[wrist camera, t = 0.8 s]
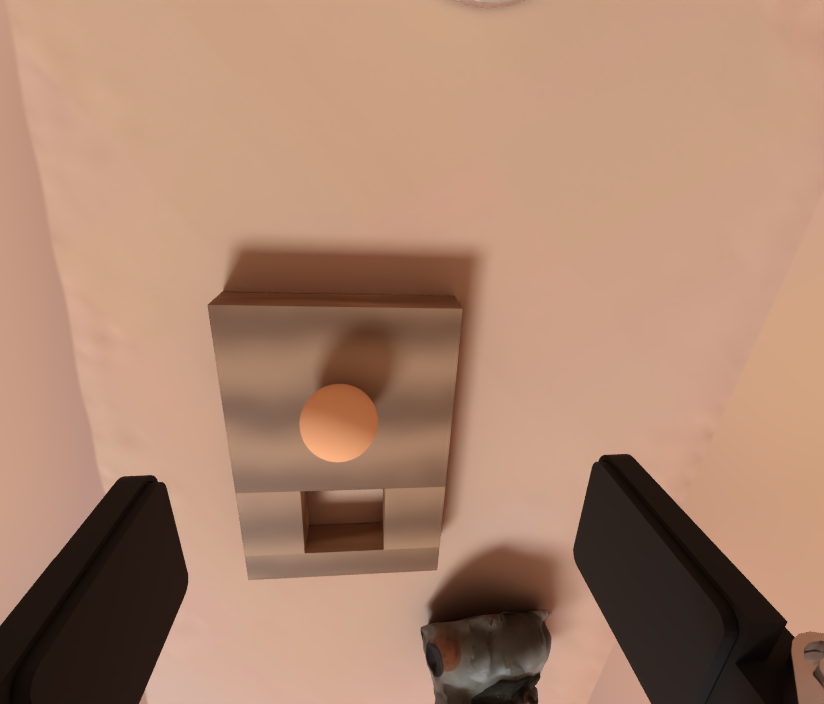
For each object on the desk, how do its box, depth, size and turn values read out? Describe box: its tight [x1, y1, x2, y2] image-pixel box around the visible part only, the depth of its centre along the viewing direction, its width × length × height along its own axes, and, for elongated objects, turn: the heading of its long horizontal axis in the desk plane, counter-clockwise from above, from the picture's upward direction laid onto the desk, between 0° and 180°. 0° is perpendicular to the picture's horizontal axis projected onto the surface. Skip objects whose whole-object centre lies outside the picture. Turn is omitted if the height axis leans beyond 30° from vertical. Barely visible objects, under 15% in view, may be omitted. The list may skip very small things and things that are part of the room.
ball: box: [299, 384, 378, 462], centre depth 28 cm, size 5×5×5 cm
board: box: [208, 292, 463, 580], centre depth 33 cm, size 24×16×3 cm, turn 177°
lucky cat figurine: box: [421, 610, 552, 704], centre depth 41 cm, size 15×12×14 cm
